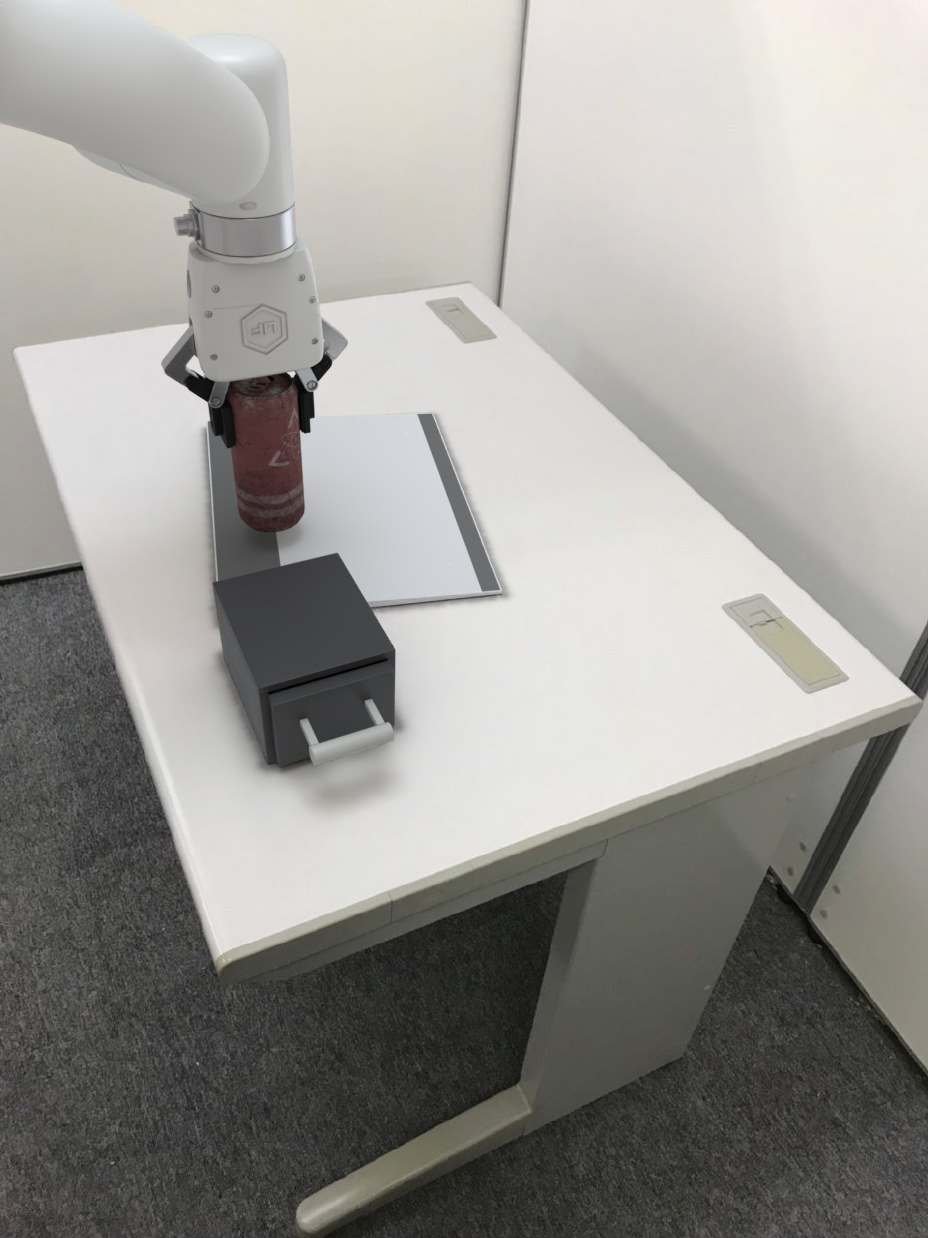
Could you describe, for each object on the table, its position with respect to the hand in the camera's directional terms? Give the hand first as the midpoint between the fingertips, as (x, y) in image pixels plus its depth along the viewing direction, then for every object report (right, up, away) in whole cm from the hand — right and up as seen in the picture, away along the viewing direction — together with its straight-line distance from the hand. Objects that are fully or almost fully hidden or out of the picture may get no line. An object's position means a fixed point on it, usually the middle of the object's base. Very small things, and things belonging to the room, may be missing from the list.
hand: (264, 431), depth 85 cm
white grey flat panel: (+5, -5, +13) cm, 15 cm away
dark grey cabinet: (+5, -22, -6) cm, 24 cm away
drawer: (+6, -24, -9) cm, 26 cm away
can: (-1, -7, +6) cm, 9 cm away
